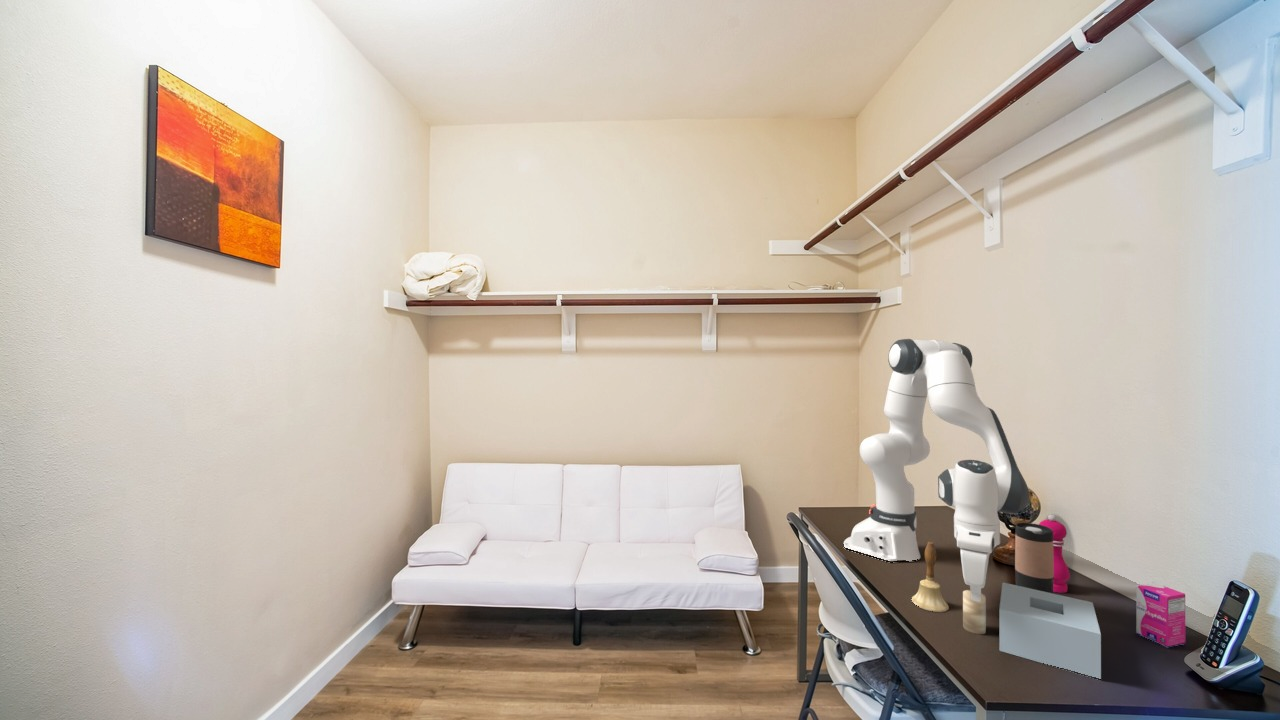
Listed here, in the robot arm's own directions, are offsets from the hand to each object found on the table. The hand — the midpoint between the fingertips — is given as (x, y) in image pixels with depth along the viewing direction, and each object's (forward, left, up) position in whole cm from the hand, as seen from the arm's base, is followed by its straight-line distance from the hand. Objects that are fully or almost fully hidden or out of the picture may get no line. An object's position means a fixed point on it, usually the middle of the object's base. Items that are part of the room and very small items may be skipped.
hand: (977, 592), depth 114 cm
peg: (-1, 0, -9) cm, 9 cm away
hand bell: (-11, +7, -9) cm, 16 cm away
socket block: (+12, +1, -9) cm, 15 cm away
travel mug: (+10, +22, -9) cm, 26 cm away
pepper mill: (+14, +38, -9) cm, 42 cm away
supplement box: (+32, +20, -9) cm, 39 cm away
